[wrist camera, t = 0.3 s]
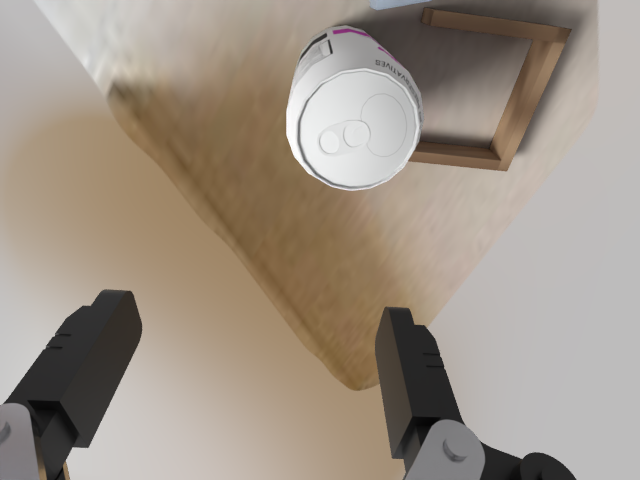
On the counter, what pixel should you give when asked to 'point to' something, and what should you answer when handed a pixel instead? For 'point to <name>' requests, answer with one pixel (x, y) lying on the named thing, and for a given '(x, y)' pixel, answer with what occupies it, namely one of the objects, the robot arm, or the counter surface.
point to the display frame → (522, 97)
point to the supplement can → (352, 110)
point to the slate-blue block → (392, 3)
